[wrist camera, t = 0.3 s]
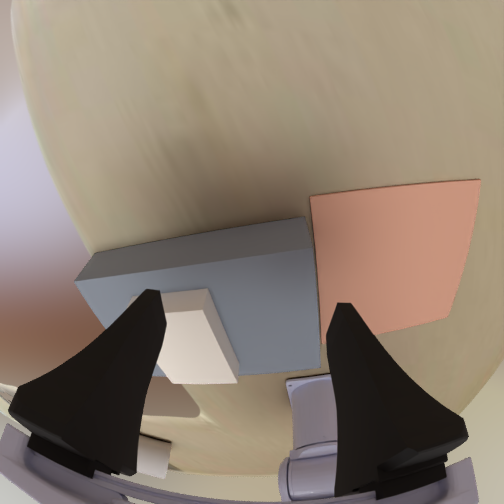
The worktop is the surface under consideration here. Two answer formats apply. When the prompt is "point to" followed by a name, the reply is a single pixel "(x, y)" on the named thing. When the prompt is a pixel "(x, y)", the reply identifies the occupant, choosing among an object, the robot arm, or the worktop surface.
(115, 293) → the plate
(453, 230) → the terracotta mat
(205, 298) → the white rectangular block
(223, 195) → the worktop surface
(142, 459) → the toilet paper
